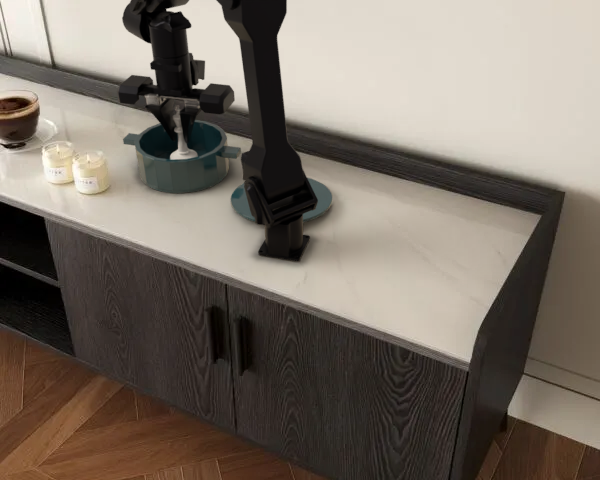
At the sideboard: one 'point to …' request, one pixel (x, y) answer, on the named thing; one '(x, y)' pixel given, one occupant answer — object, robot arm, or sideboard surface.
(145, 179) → the pot
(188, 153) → the chess piece
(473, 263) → the sideboard surface
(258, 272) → the sideboard surface
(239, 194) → the lid
